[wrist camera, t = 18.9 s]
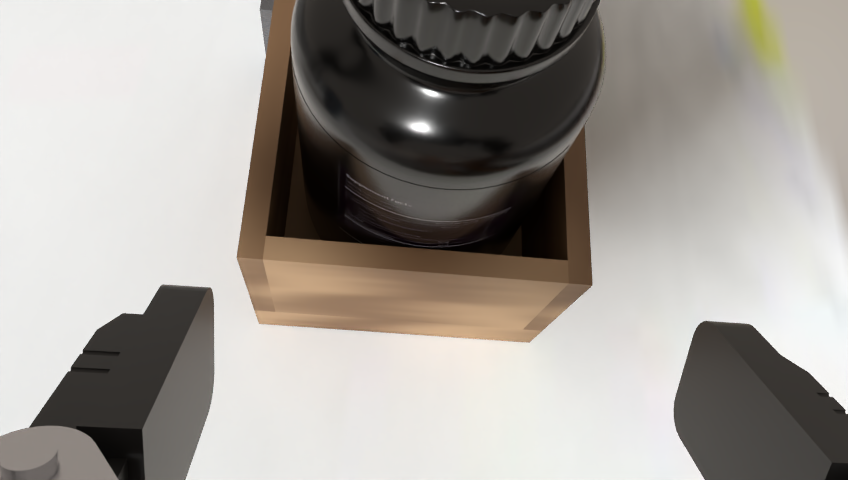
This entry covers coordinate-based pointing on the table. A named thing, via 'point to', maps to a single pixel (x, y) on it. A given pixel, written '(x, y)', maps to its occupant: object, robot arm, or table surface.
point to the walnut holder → (398, 266)
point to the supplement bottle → (438, 114)
